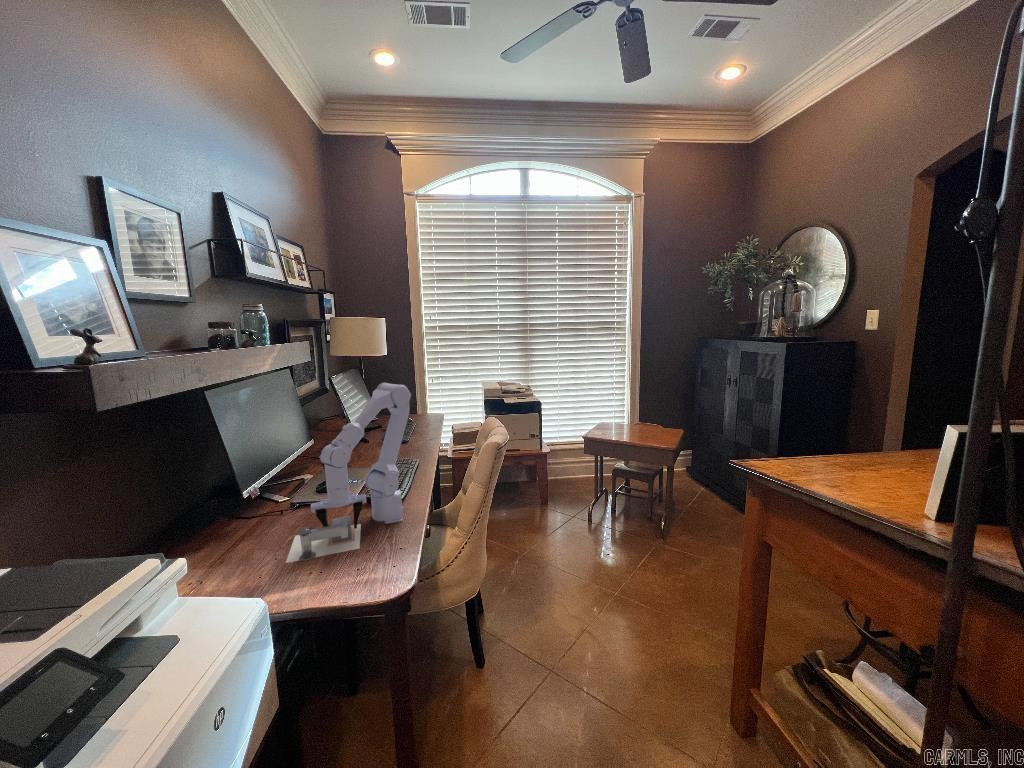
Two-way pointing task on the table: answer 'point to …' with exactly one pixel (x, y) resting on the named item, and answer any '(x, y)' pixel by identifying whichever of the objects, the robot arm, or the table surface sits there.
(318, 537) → the latch
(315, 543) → the board
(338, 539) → the grey rectangular block
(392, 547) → the table surface
